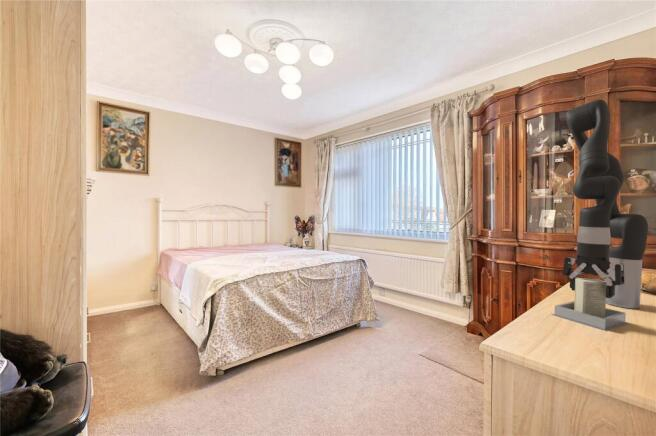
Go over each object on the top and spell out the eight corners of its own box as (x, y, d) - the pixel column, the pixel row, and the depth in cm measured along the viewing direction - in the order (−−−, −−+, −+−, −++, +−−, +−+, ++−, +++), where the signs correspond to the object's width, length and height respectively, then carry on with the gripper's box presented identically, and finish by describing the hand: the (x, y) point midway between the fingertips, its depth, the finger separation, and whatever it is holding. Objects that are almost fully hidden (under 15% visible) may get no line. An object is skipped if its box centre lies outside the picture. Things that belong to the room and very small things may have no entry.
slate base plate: (573, 310, 101) (573, 308, 101) (629, 325, 88) (629, 323, 88) (550, 316, 95) (550, 314, 95) (606, 334, 82) (606, 331, 82)
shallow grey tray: (575, 309, 100) (575, 300, 100) (625, 322, 89) (625, 312, 89) (554, 314, 95) (554, 305, 94) (604, 329, 83) (605, 319, 83)
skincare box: (595, 316, 93) (597, 278, 93) (605, 322, 89) (607, 282, 88) (572, 315, 94) (574, 277, 94) (582, 320, 90) (583, 281, 90)
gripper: (559, 239, 95) (558, 289, 96) (618, 245, 82) (615, 302, 83) (572, 238, 99) (570, 286, 99) (630, 243, 86) (627, 298, 86)
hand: (591, 293), depth 91 cm, fingers open, 8 cm apart
